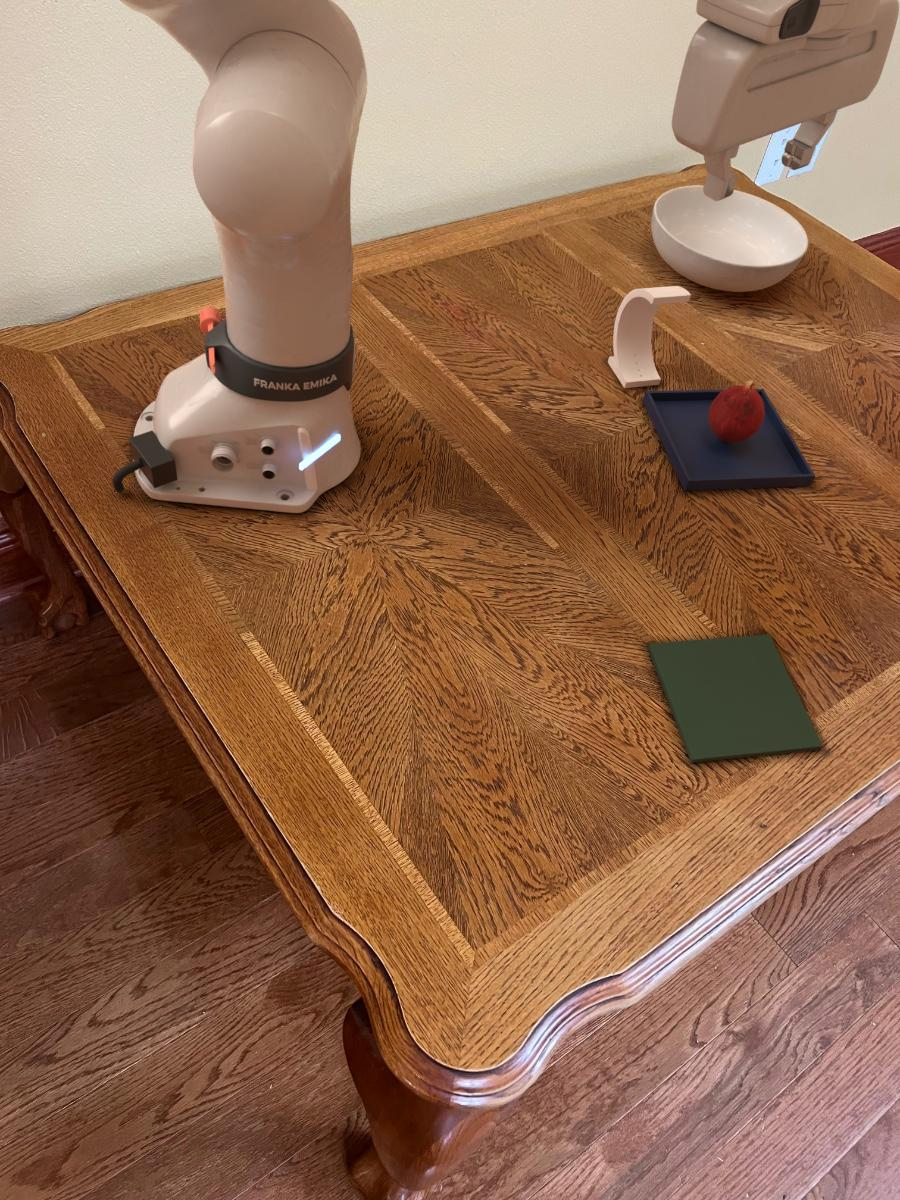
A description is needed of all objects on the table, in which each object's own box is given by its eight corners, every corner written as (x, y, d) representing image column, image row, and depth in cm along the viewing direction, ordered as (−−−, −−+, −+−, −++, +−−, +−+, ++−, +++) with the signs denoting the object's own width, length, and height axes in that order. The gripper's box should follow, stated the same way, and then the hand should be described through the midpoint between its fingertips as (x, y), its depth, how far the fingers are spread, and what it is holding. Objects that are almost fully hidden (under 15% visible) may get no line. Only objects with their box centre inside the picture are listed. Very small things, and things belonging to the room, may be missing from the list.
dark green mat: (690, 763, 78) (693, 759, 77) (646, 647, 85) (648, 643, 85) (820, 749, 80) (823, 746, 80) (766, 637, 88) (769, 634, 87)
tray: (684, 491, 99) (688, 480, 98) (642, 401, 108) (645, 390, 107) (809, 486, 102) (815, 476, 101) (758, 398, 111) (763, 388, 110)
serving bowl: (807, 267, 133) (828, 221, 127) (758, 333, 120) (779, 285, 115) (674, 213, 138) (689, 167, 133) (614, 271, 126) (628, 222, 120)
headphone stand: (624, 388, 109) (653, 297, 100) (604, 357, 113) (630, 266, 104) (659, 384, 111) (691, 295, 102) (638, 353, 114) (667, 264, 105)
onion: (750, 462, 103) (778, 405, 97) (698, 451, 103) (723, 392, 97) (749, 429, 107) (777, 372, 101) (700, 418, 107) (724, 360, 101)
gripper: (870, -57, 70) (806, 134, 80) (682, -11, 61) (638, 197, 71) (944, -31, 66) (868, 163, 77) (757, 21, 58) (700, 233, 68)
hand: (756, 180), depth 74 cm, fingers open, 8 cm apart
